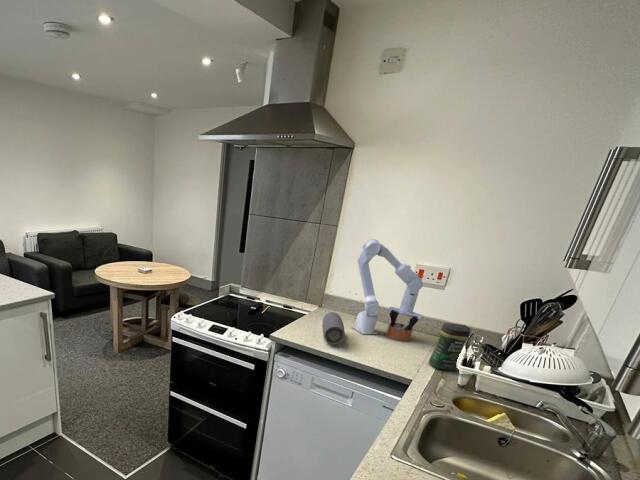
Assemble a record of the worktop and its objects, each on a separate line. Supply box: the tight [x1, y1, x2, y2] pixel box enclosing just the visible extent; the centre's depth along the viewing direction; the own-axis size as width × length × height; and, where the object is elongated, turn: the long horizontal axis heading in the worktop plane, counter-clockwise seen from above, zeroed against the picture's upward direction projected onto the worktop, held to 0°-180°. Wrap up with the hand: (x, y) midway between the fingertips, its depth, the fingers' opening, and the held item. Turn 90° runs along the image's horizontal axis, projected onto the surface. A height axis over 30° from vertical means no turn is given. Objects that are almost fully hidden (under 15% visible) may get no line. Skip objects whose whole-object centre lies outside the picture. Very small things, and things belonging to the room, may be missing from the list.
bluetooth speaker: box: [321, 311, 346, 345], centre depth 179 cm, size 23×9×10 cm, turn 164°
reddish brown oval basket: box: [385, 322, 415, 342], centre depth 190 cm, size 14×11×6 cm
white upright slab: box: [393, 321, 410, 330], centre depth 188 cm, size 7×2×8 cm, turn 32°
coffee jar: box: [428, 322, 472, 372], centre depth 156 cm, size 10×8×19 cm
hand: (400, 329), depth 188 cm, fingers closed on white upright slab, 7 cm apart
